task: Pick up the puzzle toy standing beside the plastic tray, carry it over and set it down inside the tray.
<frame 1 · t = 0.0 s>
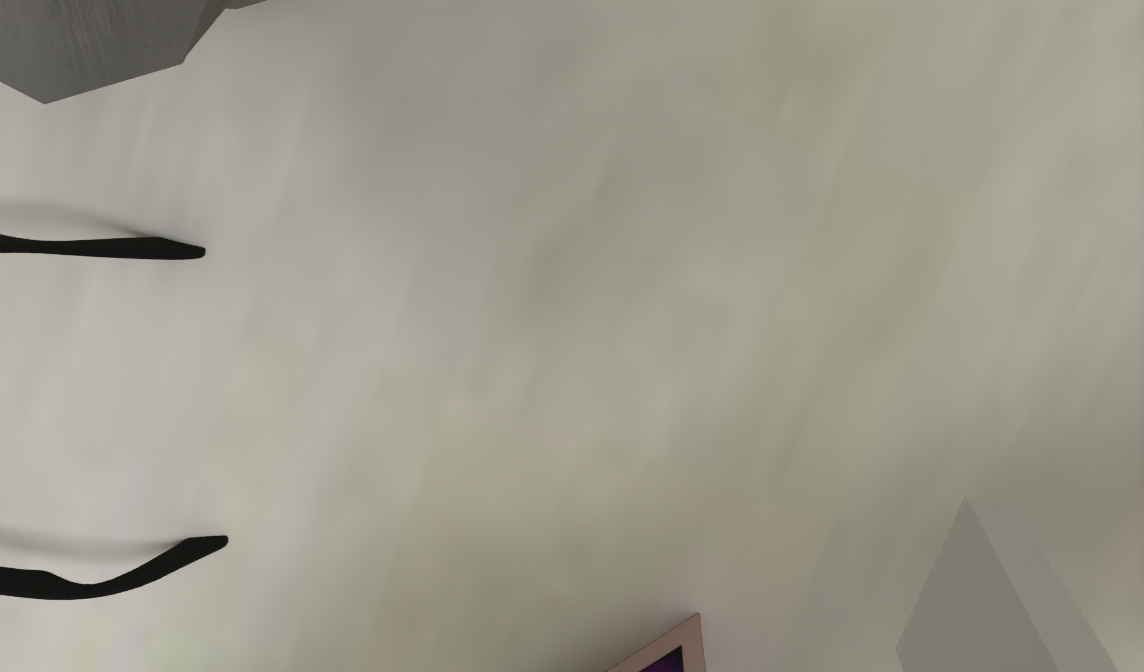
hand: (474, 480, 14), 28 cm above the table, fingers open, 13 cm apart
glasses: (20, 381, 47), on the table
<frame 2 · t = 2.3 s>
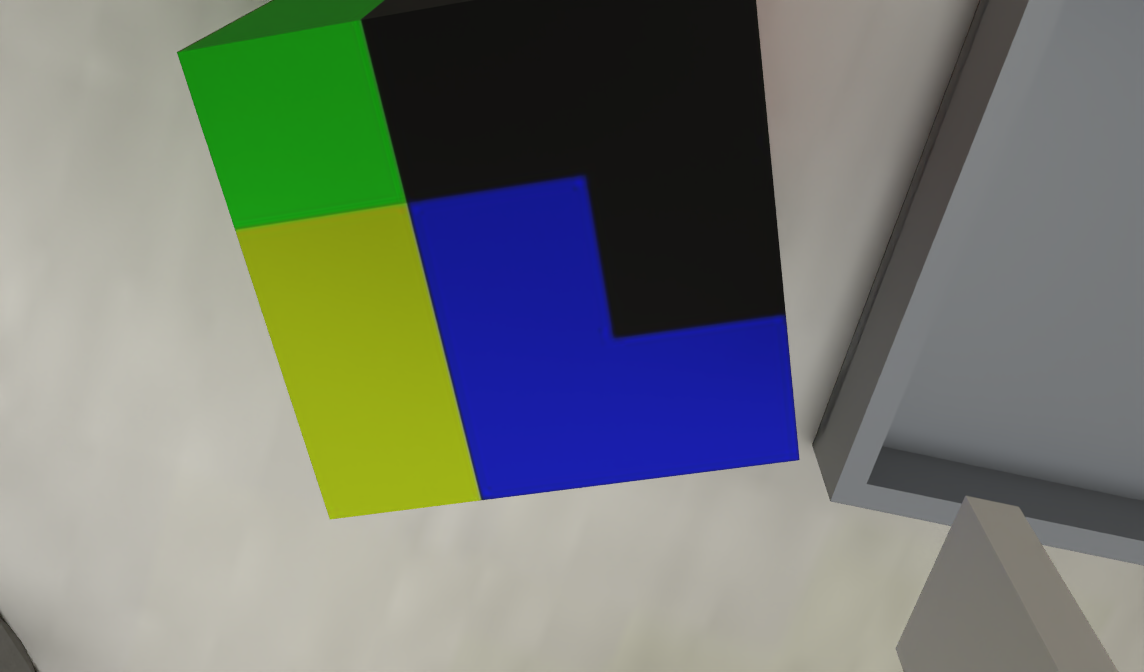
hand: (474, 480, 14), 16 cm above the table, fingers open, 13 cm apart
puzzle toy: (543, 130, 29), on the table
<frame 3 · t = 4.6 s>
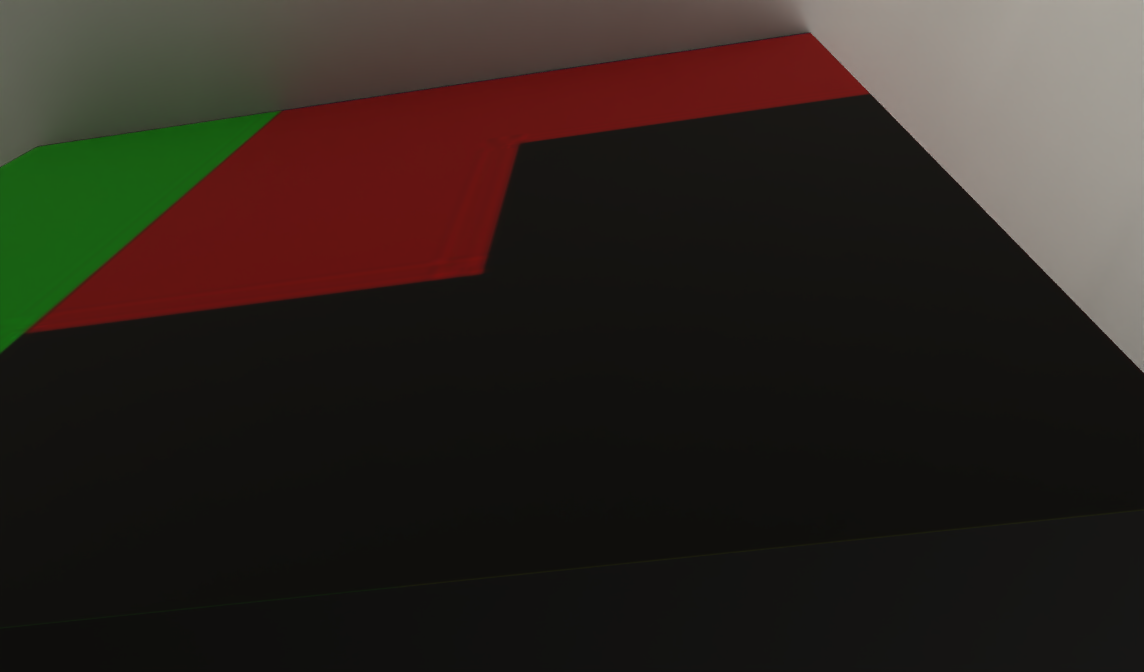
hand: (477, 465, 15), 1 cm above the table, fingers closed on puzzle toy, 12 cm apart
puzzle toy: (485, 424, 16), on the table, touching gripper
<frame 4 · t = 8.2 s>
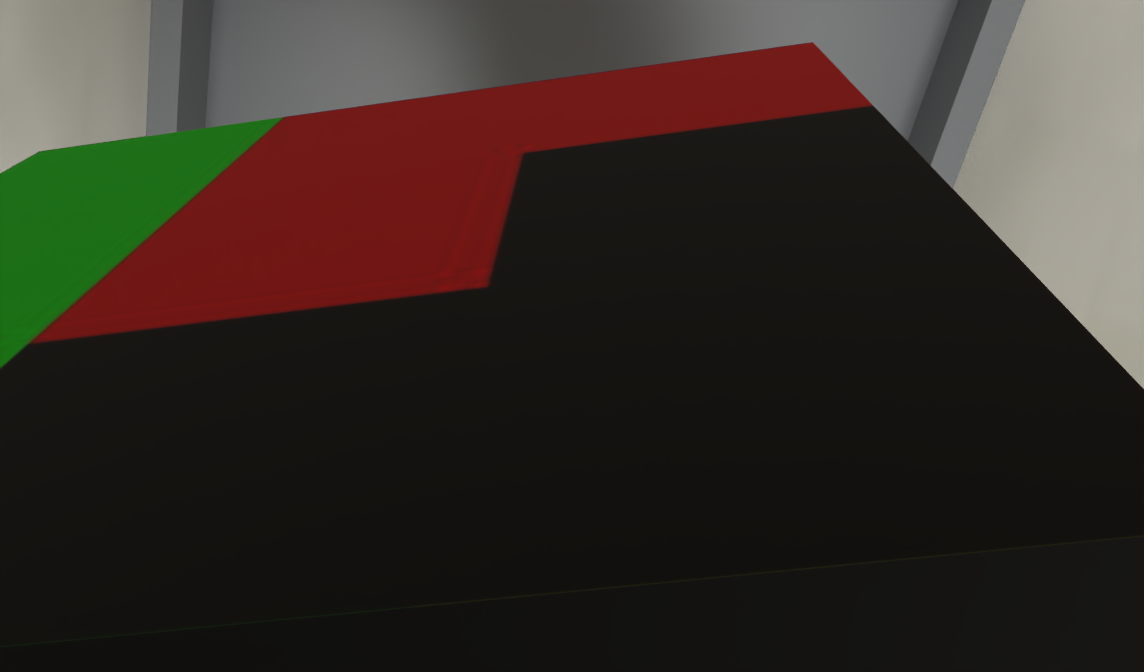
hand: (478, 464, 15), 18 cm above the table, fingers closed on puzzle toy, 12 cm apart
tray: (556, 121, 31), on the table
puzzle toy: (485, 430, 16), point 17 cm above the table, touching gripper
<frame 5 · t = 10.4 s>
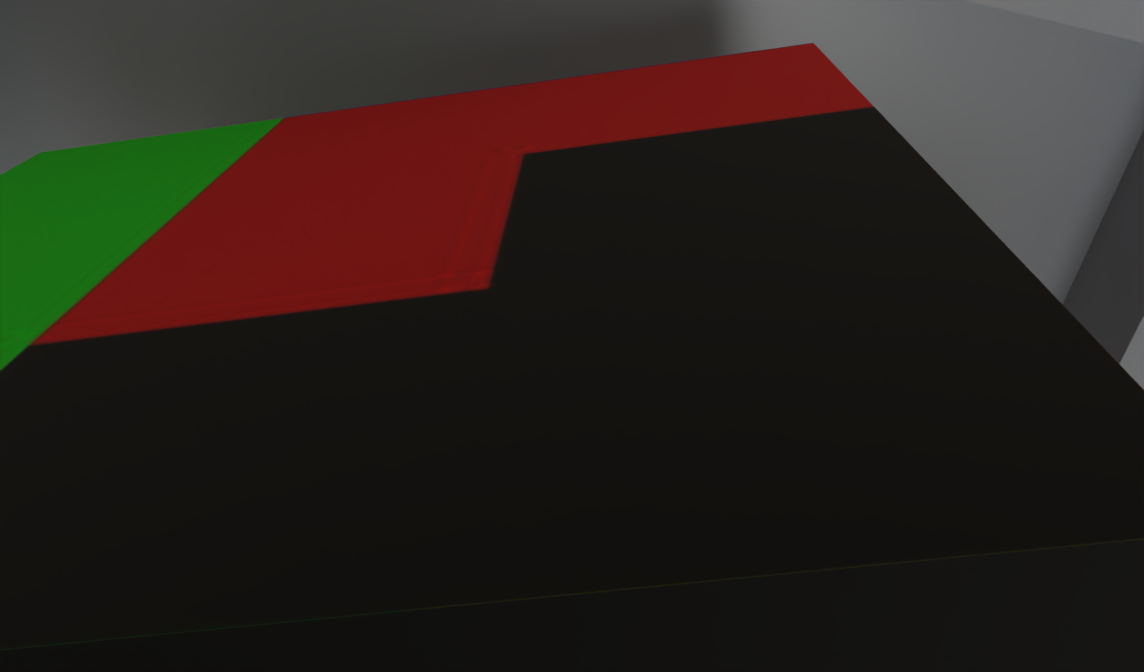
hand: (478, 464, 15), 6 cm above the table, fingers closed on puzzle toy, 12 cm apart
tray: (510, 282, 20), on the table
puzzle toy: (486, 431, 16), point 5 cm above the table, touching gripper
when the fingers open (3 cm above the table, at t = 12.2 s): puzzle toy drops 1 cm, resting on tray.
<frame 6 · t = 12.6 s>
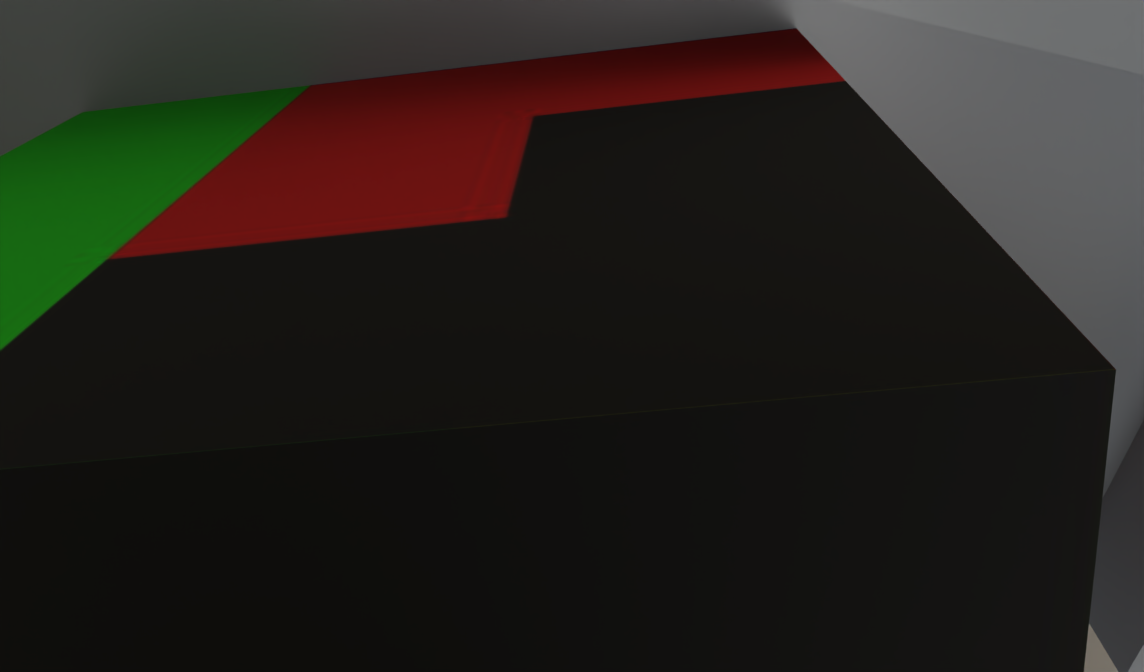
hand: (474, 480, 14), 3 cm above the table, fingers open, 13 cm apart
tray: (497, 371, 17), on the table
puzzle toy: (487, 383, 17), resting on tray
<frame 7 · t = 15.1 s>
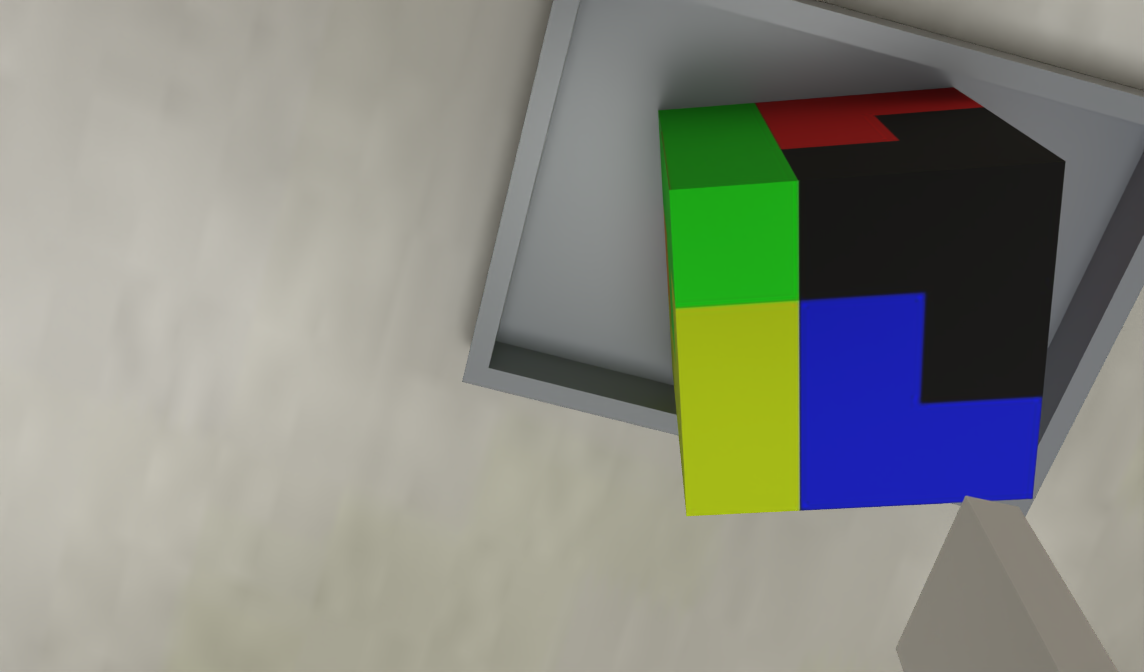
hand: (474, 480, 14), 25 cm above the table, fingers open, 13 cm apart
tray: (805, 232, 39), on the table
puzzle toy: (803, 236, 39), resting on tray
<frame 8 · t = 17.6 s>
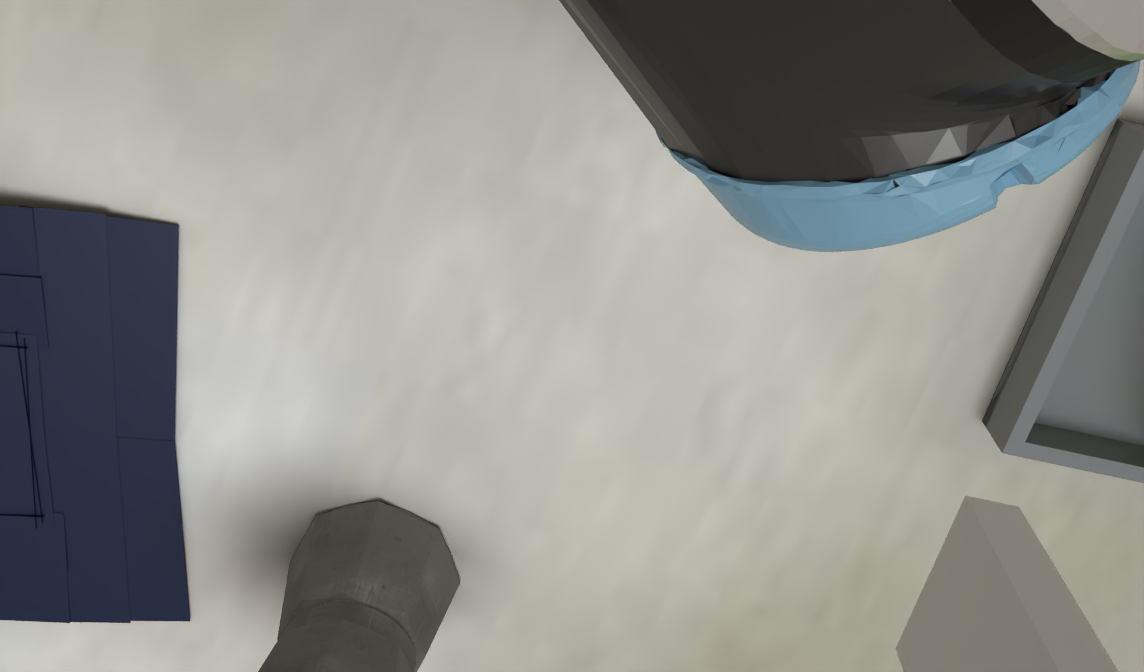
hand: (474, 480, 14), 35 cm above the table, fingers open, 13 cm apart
coffeepot: (396, 568, 59), on the table
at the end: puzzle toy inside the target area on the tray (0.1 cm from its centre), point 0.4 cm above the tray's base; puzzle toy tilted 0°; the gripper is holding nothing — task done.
